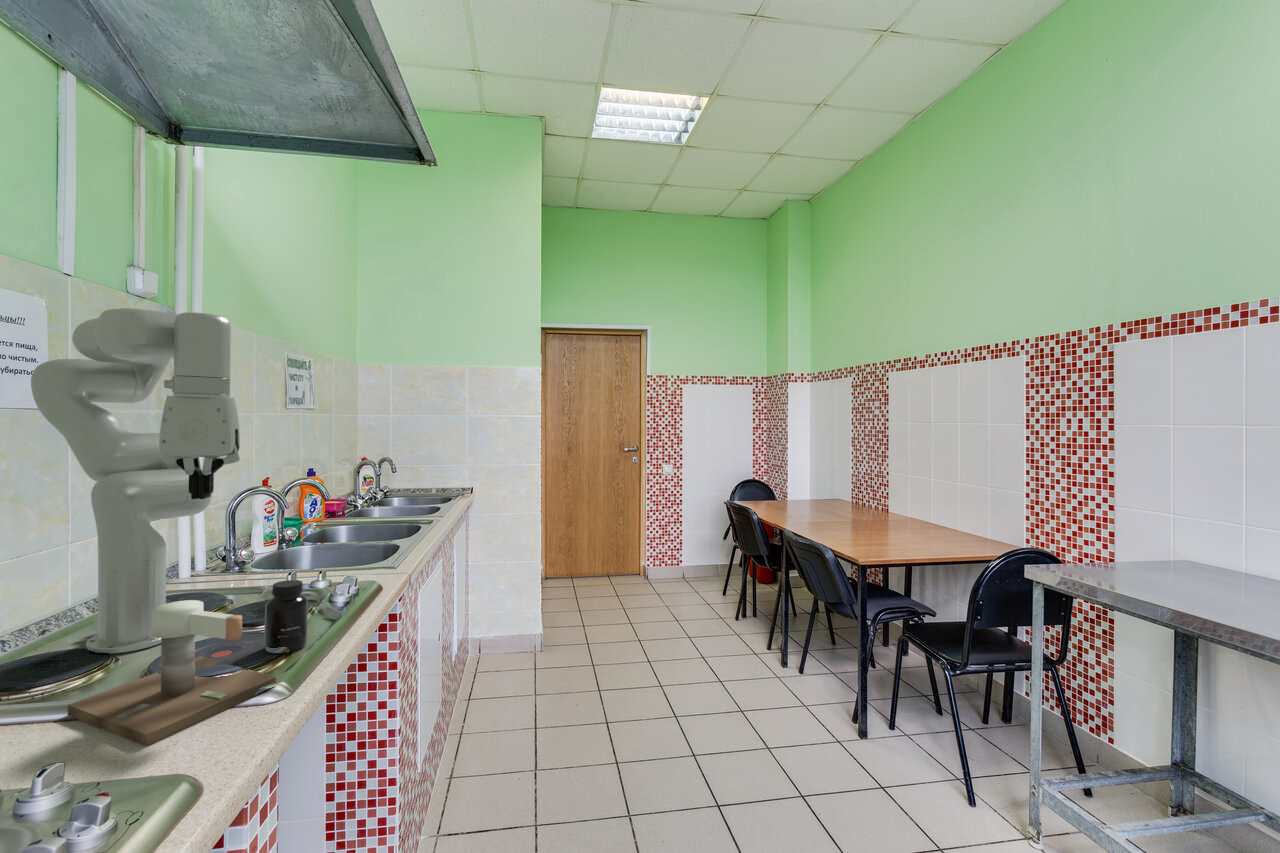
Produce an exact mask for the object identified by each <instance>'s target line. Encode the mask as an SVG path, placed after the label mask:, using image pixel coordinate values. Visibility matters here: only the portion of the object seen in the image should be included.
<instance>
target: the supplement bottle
mask: <svg viewBox="0 0 1280 853" xmlns="http://www.w3.org/2000/svg"><path fill="white" fill-rule="evenodd" d="M303 585H304V584H303V581H302V580H299V579H298V580H297V579H287V580H281V581H277V582H275V583H273V584H272V589H271V590H272V591H271V596H272V597H271V598H270V599H269V600H268V601H267V602H266V604H265V607H264V609H265V610H264V630H263V631H264V632H263V634H264V635H263V637H264V639H263V647H264V646H265V647H269V648H278V647H287V648H288V649H289V651H290V653H293V652H296V651H299V650H301V649H302V648H304V647H305V646H306V644H307V642H308V641H307V640H308V637H307V636H308V618H309V616H308V615H309V614H308V612H309V600H308V598H307V596H305V595H304V594H302V593H303V592H304V588H303Z"/></svg>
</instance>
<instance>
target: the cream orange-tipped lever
mask: <svg viewBox="0 0 1280 853" xmlns="http://www.w3.org/2000/svg"><path fill="white" fill-rule="evenodd" d="M189 634H193V635H195V636H201V637H209V638H216V639H223V640H226V641H235V640H238V639H239V640H240V639H241V638H242V637H243V615H241V614H229V613H222V612H215V611H206V610H204V602H203V601H201V600H198V599H196V600H195V599H189V600H178V601H172V602H168V603H167V602H166V604H163V605H161V606H158V607H156V608H154V609H153V636H154V637H156V638H175V637H181V636H186V635H189Z"/></svg>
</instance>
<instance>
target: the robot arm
mask: <svg viewBox="0 0 1280 853" xmlns="http://www.w3.org/2000/svg"><path fill="white" fill-rule="evenodd" d="M231 330H232V327H231V322H230V321H229V320H228V319H227V318H226V317H225V316H221V315H217V314H213V313H204V312H192V311H190V312H189V311H188V312H186V311H185V312H181V313H178V314H176V313H171V312H163V311H157V310H150V309H149V310H148V309H140V308H130V307H129V308H126V307H124V308H123V307H122V308H112V309H106V310H104V311H102V312H101V313H100V315H99V316H98V317H97V318H91V319H88V320H85V321H83V322H80V324H79V325H77V326H76V328H75V329H74V331H73V333H72V337H71V338H72V339H71V340H72V344H73V346H74V348H75V349H76V350H77V351H78V352H79V353H80V354H81V355H82V356H84V357H86V358H88V359H83V358H59V359H50V360H47V361H45V362H42V363H40V364H39V365H37V366H36V367H35V368H34V369H33V371H32V374H31V377H30V378H31V379H30V386H31V387H30V389H31V393H32V397H33V400H34V402H35V404H36V407H37V408H38V411H39V412H40V413H41V415H42V416H43V417H44V418H45V419H46V420H47V421H48V423H49V424H50V425H51V426H53V427H54V428H55V429H56V430H57V431H58V432H59V433H60V434H61V435H62V436H63V438H64V439H65V440H66V442H67V444H68V446H69V448H70V449H71V452H72V453H73V455H74V457H75V458H76V460H77V461H78V464H79V465H80V467H81V468H82V469H83V471H84V473H85V474H86V475H87V476H88V478H90V479H91V480H92V481H95V483H94V485H93V487H92V489H91V492H90V500H91V501H90V502H91V507H92V511H93V515H94V521H95V525H96V526H95V527H96V532H97V552H98V553H97V565H98V566H97V568H98V569H97V617H96V618H95V619H94V621H93V623H94V624H95V625H97V633H96V634H95V635H92V637H90V638H88V640H86V642H85V650H86V649H88V650H97V651H102V652H106V653H109V654H108V655H110V654H112V655H114V654H122V653H128V652H129V653H130V652H136V651H140V650H143V649H148V648H151V647H153V646H157V645H160V644H161V638H156V637H154V636H153V609H154V608H156V607H158V606H161V605H163V604H167V544H166V540H165V539H164V538H163V535H161V534H160V533H159V532H158V531H157V530H156V529H155V528H154V527H153V526H152V524H151V523H152V522H154V521H155V522H156V521H160V520H167V519H173V518H174V519H175V518H181V517H183V518H184V517H188V516H193V515H197V514H200V513H202V512H204V511H205V510H206V509H207V508H208V507H209V505H210V504H211V501H212V495H213V492H214V485H215V484H214V480H215V479H214V478H215V475H214V474H216V473H217V472H218V471H219V469H221V468H222V467H223V466H224V465H230V464H235V463H238V462H239V461H240V459H241V458H240V454H239V450H240V443H241V435H240V424H239V423H240V421H239V415H238V411H237V410H238V409H237V405H236V404H237V403H236V400H235V397H231V348H232V347H231V346H232V345H231V344H232V343H231V342H232V341H231V340H232V337H231V336H232V334H231V333H232V331H231ZM171 358H173V376H172V377H171V379H169V380H168V379H165V380H164V381H163V387H164V388H165V389H170V390H171V392H172V393H173V395H166V397H165V398H166V399H165V402H164V407H163V410H162V416H161V421H160V429H159V432H149V433H148V432H144V433H143V432H142V433H141V432H140V433H139V432H130V431H128V430H126V428H125V427H124V426H123V423H122V422H121V421H120V419H119V418H117V417H116V416H115V415H114V414H113V413H111V412H110V411H108V410H107V409H106V408H105V409H104V408H103V407H101V406H99V405H97V404H95V403H116V404H117V403H123V404H124V403H125V404H127V403H129V404H130V403H133V404H134V403H139V402H142V401H144V400H146V399H147V398H148V397H149V396H150V395H151V394H152V392H153V390H154V389H155V387H156V385H157V383H158V382H159V381H160V378H161V377H162V376H163V373H164V371H165V370H166V368H168V365H169V362H170V360H171ZM200 458H204V459H203V462H202V464H203V465H202V467H201V460H200ZM88 650H87V651H88Z"/></svg>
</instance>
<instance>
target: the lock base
mask: <svg viewBox="0 0 1280 853" xmlns="http://www.w3.org/2000/svg"><path fill="white" fill-rule="evenodd" d="M160 644H161V645H160V647H161V650H160V652H161V654H160V671H157V672H154V673H152V674H148V675H146V676H144V677H141V678H139V679H138V678H137V679H135V680H133V681H130V682H127V683H124V684H122V685H119V686H116V687H114V688H110V689H108V690H105V691H102V692H100V693H99V692H98V693H97V694H94V695H92V696H88V697H86V698H83V699H80V700H77V701H75V702H72V703H70V704H67V716H68V717H71V718H74V719H76V720H78V721H81V722H84V723H85V724H86V723H87V724H88V725H92V726H94V727H97V728H99V729H102V730H105V731H107V732H109V733H113V734H116V735H118V736H120V737H123V738H125V739H128V740H130V741H133V742H136V743H138V744H141V745H143V746H147V747H148V746H149V745H152V744H154V743H156V742H158V741H160V740H164V739H165V738H167V737H169V736H172V735H173V734H176V733H179V732H180V731H183V730H184V729H187V728H189V727H190V726H193V725H195V724H197V723H200V722H203V721H204V720H206V719H208V718H210V717H213V716H214V715H216V714H219V713H222V712H223V711H225V710H227V709H230V708H232V707H234V706H236V705H238V704H240V703H243V702H245V701H247V700H249V699H251V698H253V696H254V695H255V694H256V692H257V691H258V690H259V689H260V688H262V687H265V686H267V685H270V684H273V683H276V684H277V678H276V676H273V675H270V674H267V673H263V672H258V671H255V670H252V669H248V668H247V669H248V670H245V671H242V672H240V673H237V674H234V675H228V676H220V677H198V676H195V671H196V670H197V669H198V668H200V667H201V666H206V667H207V666H212V665H215V664H217V663H216V662H217V661H218V660H217V659H213V658H210V657H206V656H203V655H201V656H198V657H196V635H193V634H189V635H186V636H181V637H175V638H161V643H160ZM158 672H161V674H158ZM254 697H255V696H254Z"/></svg>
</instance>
